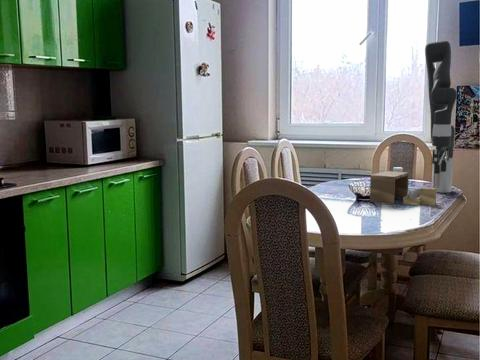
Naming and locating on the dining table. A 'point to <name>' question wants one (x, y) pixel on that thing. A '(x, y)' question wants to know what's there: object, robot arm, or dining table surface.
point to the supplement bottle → (397, 169)
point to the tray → (421, 196)
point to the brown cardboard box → (388, 186)
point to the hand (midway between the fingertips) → (440, 172)
